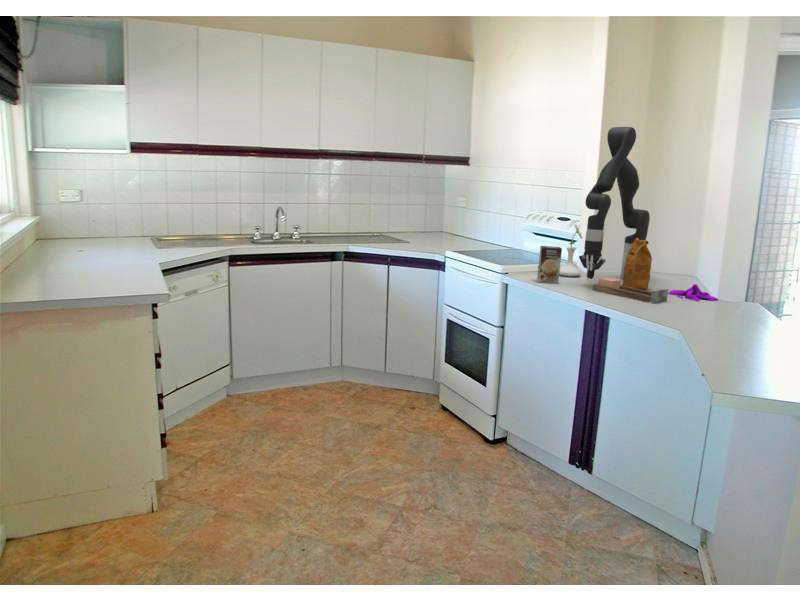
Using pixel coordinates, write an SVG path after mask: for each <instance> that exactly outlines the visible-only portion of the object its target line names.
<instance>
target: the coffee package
mask: <svg viewBox="0 0 800 600" xmlns="http://www.w3.org/2000/svg"><path fill="white" fill-rule="evenodd" d="M648 245H649V241H648V240H639V239H638V238H636V239H635V241H634V242H633V244H632V246H631V248H630V250H629V252H628V254H627V258H626V262H625V266H624V275H623V279H622V284H621V286H626V287H631V288H636V289H641V290H645V289H649V284H650V280H651V271H652V269H651V268H652V260H653V257H652V255H651V252H650V250H649V248H648Z"/></svg>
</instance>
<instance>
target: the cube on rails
mask: <svg viewBox="0 0 800 600" xmlns="http://www.w3.org/2000/svg"><path fill="white" fill-rule="evenodd" d="M591 288H592V289H591V290H592V291H595V292H600V293H605V294H608V295H614V296H617V295H618V297H622V296H623V297H622V298H626V297H628V298H627V299H631V298H633V300H635V299H637V300H636V301H640V300H642V301H641V302H644V301H647V302H646V303H649V302H652V303H651V304H653V303H654V304H659V303H664V302H667V301H668V293H669V288H659V289H654V290H651V291H649V290H645V289H636V288H631V287H626V286H623V285H622V284H621V285H620V289H616V288H611V287H607V286H602V285H598V284H596V283H594V284H592V287H591ZM658 302H659V303H658Z"/></svg>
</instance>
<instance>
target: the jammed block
mask: <svg viewBox="0 0 800 600" xmlns="http://www.w3.org/2000/svg"><path fill="white" fill-rule="evenodd" d="M597 283H598V284H597V285H602V286H607V287H611V288H616V289H620V285H621V286H622V284H621V283H622V279H618V278H612V277H609V276H605V277H600V278H598V282H597Z"/></svg>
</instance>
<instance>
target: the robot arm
mask: <svg viewBox="0 0 800 600" xmlns="http://www.w3.org/2000/svg"><path fill="white" fill-rule="evenodd" d="M606 139H607V144H608V148H609V152H610V155H611V159H610V160H609V161H608V162H607V163H606V164H605V165H604V166H603V167H602V169H601V170H600V173H599V175H598V176H599V177H598V178H597V180H596V181H597V182H596V183H595V184H594V185H593V187H592V188H591V190H590V191H589V193H587V196H586V198H585V206H586V209H587V208H588V209H589V210H596V211H597V213H596V214H593V215H589V216H588V218H587V224H586V225H587V226H586V232H585V237H584V239H585V240H584V251H583V254H582V255H579V256H578V259H579V260H580V262H581V264H582V267H583V268H584V269H586V270H587V271H586V277H587V279H590V280H592V279H594V278H595V271H596V270H600V268H601V267H602V266H603V265H604V264H605V263H606V259H605V258H603V255H602V250H603V244H604V234H605V233H604V230H605V221H606V218H607V215H608V213H609V211H610V208H611V204H612V199H611V196H610V195H609V194H607V192H610V191H612V189H613V187H614V185H615V182H616V181H617V182H616V183H617V186H618V190H619V195H620V201H621V210H622V211H621V212H622V213H621V214H622V221H623V222H622V223H623V225H624V226H625V227H626V228H627V229H633V230H635V229H636V230H635V232H634V233H633V234H630V235H626V236H625V237H624V243H623V252H622V261H621V270H620V279H621V280H623V275H624V266H625V262H626V258H627V254H628V252H629V250H630V248H631V246H632V244H633V242H634V241H635V239H636V238H638V239H639V240H645V241H647V237H648V230H649V226H650V220H651V219H650V212H649V211H648V210H646V209H639V208H638V209H637V208H634V206H633V205H634V204H633V200H634V197H635V195H636V194H637V192H638V190H639V187H640V178H639V172H638V170H637V168H636V167H635V166H634V164H633V163H632V162H631V161H630V159H628V156H629V154H630V152H631V150H632V149H633V148H634V145H635V143H636V139H637V131H636V129H635V128H634V127H632V126H614V127H611V128H610V129H608V131H607V138H606Z"/></svg>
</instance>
